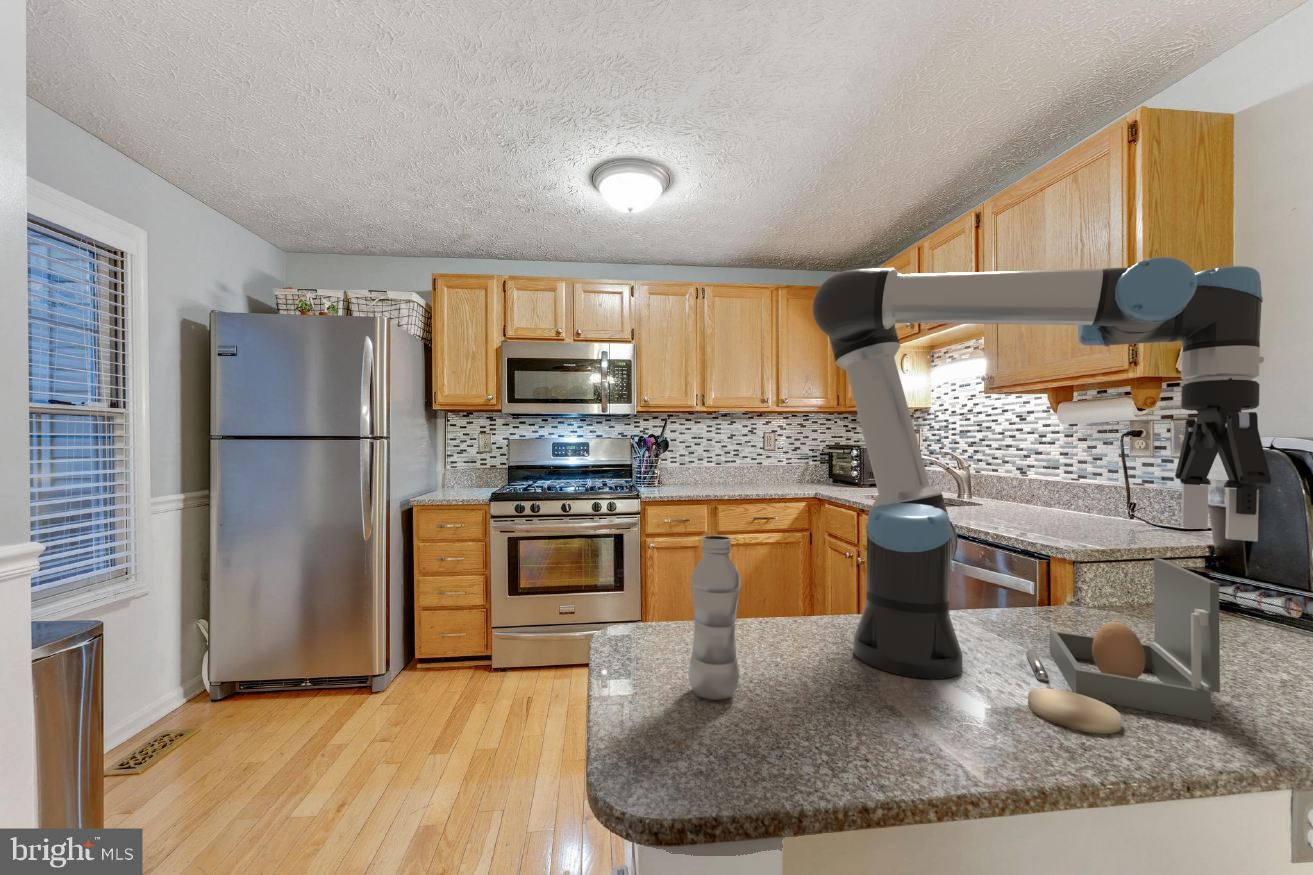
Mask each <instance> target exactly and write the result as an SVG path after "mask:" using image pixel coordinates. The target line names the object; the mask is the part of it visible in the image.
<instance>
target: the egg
mask: <svg viewBox="0 0 1313 875" xmlns="http://www.w3.org/2000/svg"><path fill="white" fill-rule="evenodd" d="M1093 637H1094V639H1093V644H1092V656H1093V659H1094V660H1093V661H1094V664H1095V666H1096V667H1097V669H1098V670H1099V672H1101V673H1107V674H1113V675H1119V676H1125V677H1131V678H1137V679H1139V677H1141V675H1142V674H1143V672H1144V670H1145V669H1144V668H1145V662H1146V660H1145V652H1144V648H1143V646H1142V644H1143V643H1142V642H1141V639H1140V638H1139V636H1137V634H1136V632H1135V631H1133V630H1132V628H1130V627H1129V626H1127V625H1126V624H1125V623H1121V622H1116V621H1113V622H1108V623H1106V624H1104V625H1103V626H1101V627H1100V628H1099V629H1098V630H1097V632H1096V634H1095V636H1093ZM1141 643H1142V644H1141Z"/></svg>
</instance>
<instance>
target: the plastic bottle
mask: <svg viewBox="0 0 1313 875" xmlns="http://www.w3.org/2000/svg"><path fill="white" fill-rule="evenodd" d="M702 537H703V538H702V547H701V552H703V556H702V558H701V559H700V560H699V561H698V563H697V564H696V566H695V567H694V569H693V571H692V574H691V577H690V579H691V580H690V582H691V584H690V585H691V592H692V601H693V602H692V603H693V620H694V622H693V624H694V626H693V627H694V628H693V629H694V631H693V632H694V633H693V641H692V650H691V651H692V652H691V655H690V656H691V657H690V660H689V661H690V662H689V666H688V679H689V680H688V682H689V686H690V687H691V689H692V691H693V692H694V694H695V695H696V696H698V697H700V698H702V699H706V700H712V701H713V700H716V701H720V700H721V701H722V700H725V699H729V698H731V697H732V696H733V695H734V694H735V693H736V691H737V689H738V685H739V679H740V670H739V663H738V657H737V642H736V622H737V608H738V601H739V596H740V589H741V577H740V573H739V571H738V568H737V567H736V566H735V564H734V562H733V561H732V559H731V558H730V554H731V553H732V547H731V544H732V542H731V540H732V539H731V537H729V536H725V535H704V536H702Z"/></svg>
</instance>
